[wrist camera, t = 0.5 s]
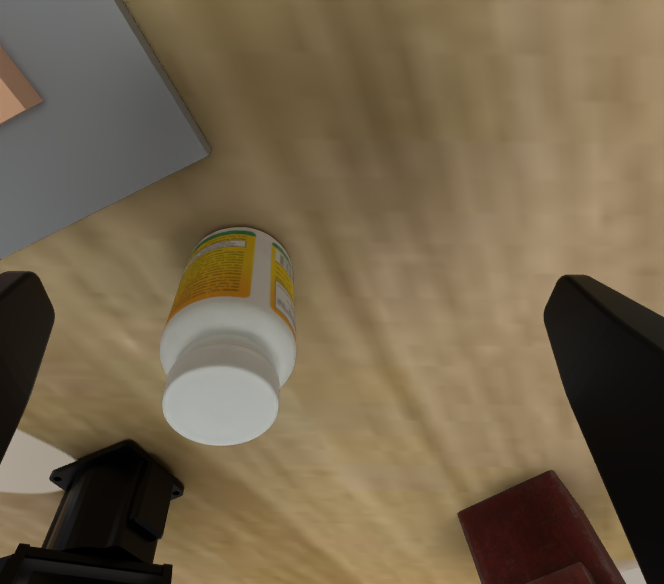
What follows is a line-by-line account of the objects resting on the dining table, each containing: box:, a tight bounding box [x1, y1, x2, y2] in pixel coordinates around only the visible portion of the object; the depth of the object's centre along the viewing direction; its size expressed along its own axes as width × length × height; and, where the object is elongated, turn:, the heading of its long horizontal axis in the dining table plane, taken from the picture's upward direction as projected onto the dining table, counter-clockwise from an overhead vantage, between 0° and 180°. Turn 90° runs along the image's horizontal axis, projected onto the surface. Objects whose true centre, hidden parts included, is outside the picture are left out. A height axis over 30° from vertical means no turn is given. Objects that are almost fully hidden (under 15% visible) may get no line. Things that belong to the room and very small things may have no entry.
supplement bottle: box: [160, 227, 296, 446], centre depth 20 cm, size 5×5×10 cm
